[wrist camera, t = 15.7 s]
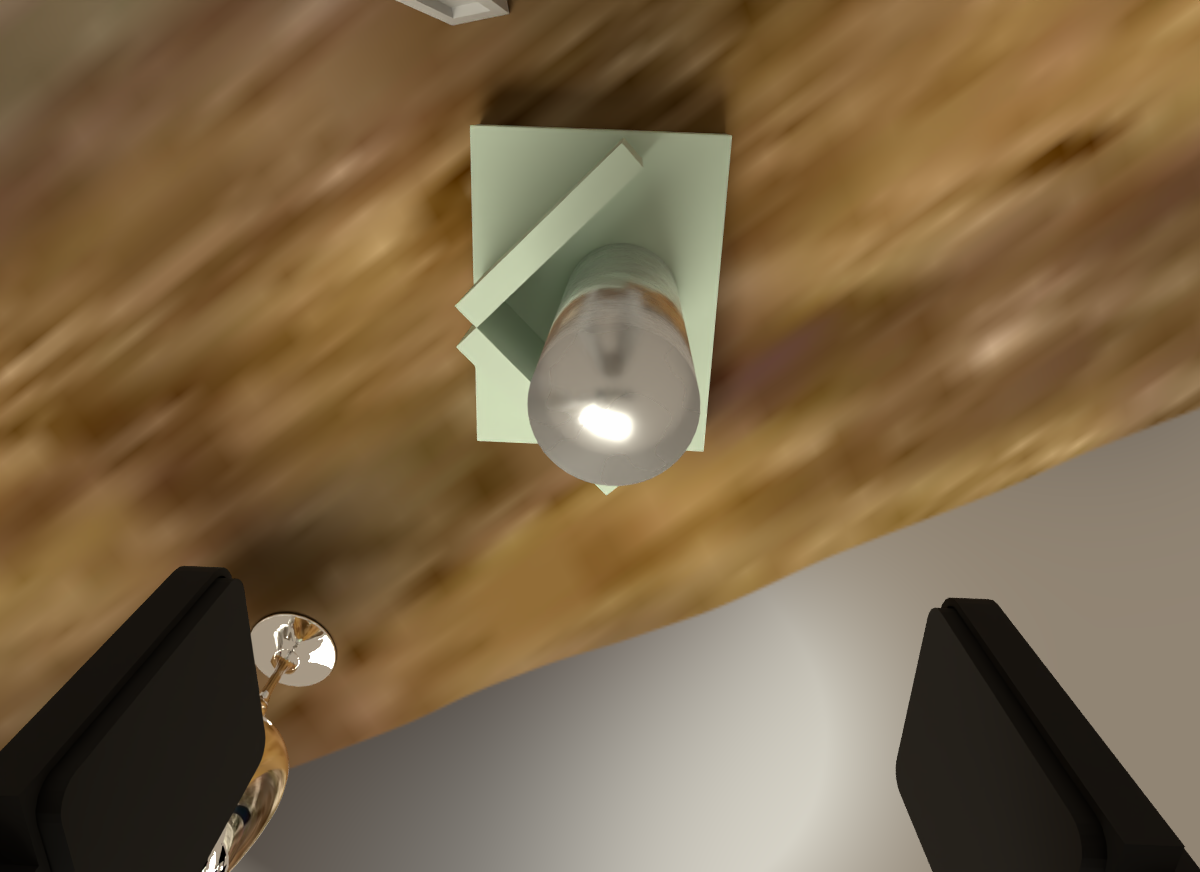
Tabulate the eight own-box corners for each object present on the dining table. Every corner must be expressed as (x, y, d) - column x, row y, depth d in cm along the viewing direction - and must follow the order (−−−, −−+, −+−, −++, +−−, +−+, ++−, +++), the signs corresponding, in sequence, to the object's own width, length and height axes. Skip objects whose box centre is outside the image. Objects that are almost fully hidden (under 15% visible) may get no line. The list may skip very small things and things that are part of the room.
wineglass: (371, 645, 41) (273, 846, 30) (311, 714, 43) (197, 928, 32) (272, 580, 40) (132, 765, 29) (215, 654, 41) (62, 855, 30)
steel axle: (682, 245, 31) (708, 328, 20) (673, 357, 33) (692, 490, 22) (566, 240, 31) (527, 318, 20) (563, 351, 33) (526, 481, 22)
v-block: (485, 423, 36) (452, 492, 30) (479, 124, 31) (439, 129, 25) (699, 433, 36) (714, 505, 29) (726, 134, 31) (750, 141, 25)
